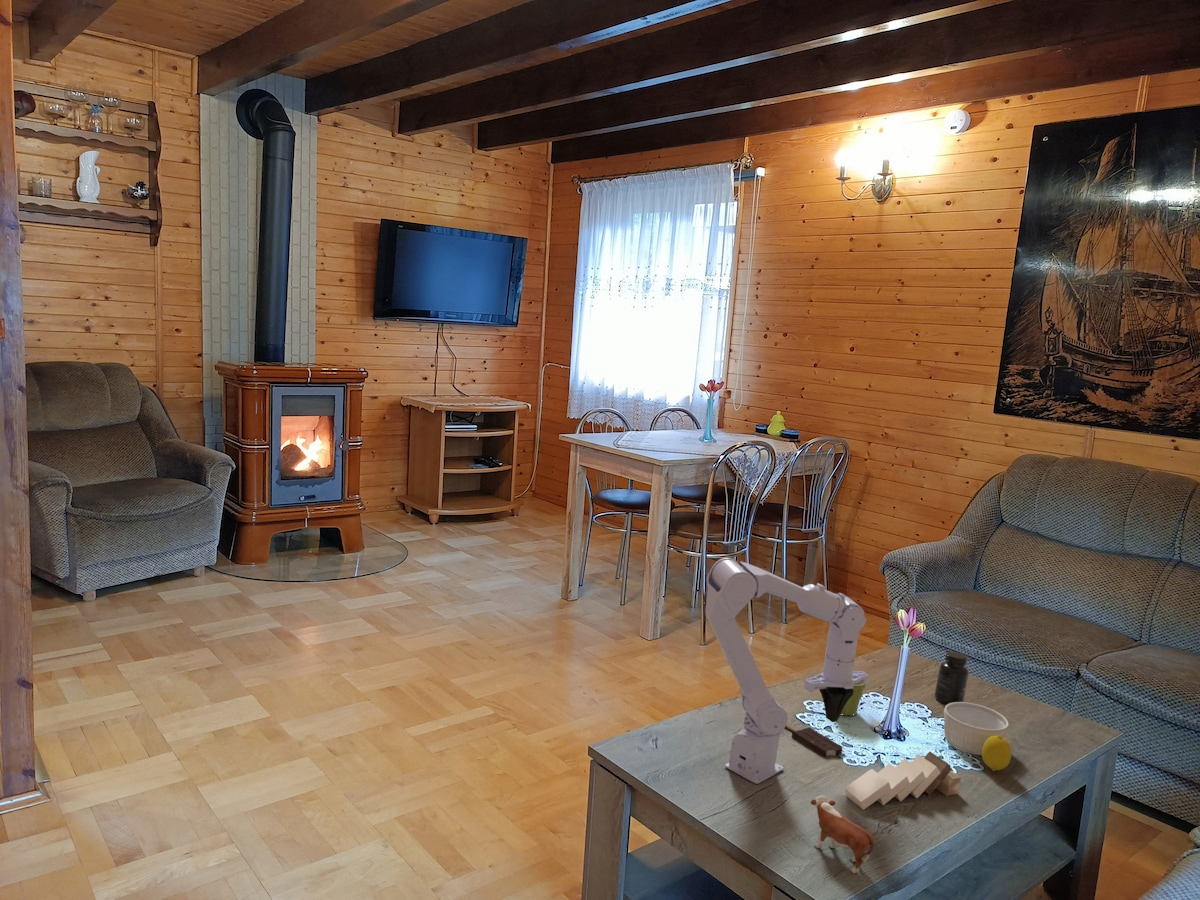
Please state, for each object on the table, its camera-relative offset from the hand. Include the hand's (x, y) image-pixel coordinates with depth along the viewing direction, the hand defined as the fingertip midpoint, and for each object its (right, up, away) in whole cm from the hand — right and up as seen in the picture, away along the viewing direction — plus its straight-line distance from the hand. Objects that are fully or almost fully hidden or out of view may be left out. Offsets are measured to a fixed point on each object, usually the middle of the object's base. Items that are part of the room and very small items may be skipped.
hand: (831, 719), depth 176 cm
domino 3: (+10, -12, -7) cm, 17 cm away
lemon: (+36, -13, +7) cm, 39 cm away
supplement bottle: (+40, -8, +40) cm, 57 cm away
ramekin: (+36, -11, +18) cm, 42 cm away
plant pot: (+10, -7, +28) cm, 31 cm away
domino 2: (+6, -12, -9) cm, 16 cm away
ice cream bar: (-2, -9, +13) cm, 15 cm away
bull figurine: (-7, -15, -27) cm, 31 cm away
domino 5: (+16, -12, -4) cm, 21 cm away
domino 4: (+13, -12, -5) cm, 19 cm away
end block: (+21, -13, -1) cm, 25 cm away
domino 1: (+1, -12, -11) cm, 16 cm away
